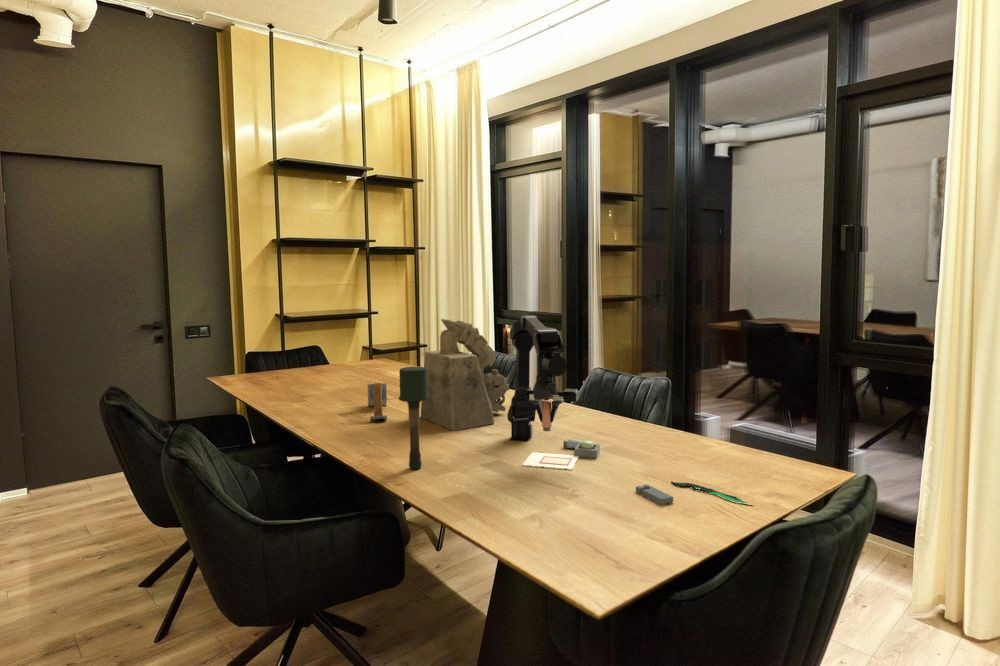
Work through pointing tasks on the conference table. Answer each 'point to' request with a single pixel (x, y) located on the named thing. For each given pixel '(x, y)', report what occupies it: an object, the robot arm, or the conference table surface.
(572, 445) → the grey cylinder
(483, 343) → the sculpture
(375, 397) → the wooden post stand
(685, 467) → the conference table surface
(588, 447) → the button
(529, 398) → the robot arm
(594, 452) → the button housing
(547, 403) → the salmon rounded cylinder
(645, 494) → the bracket
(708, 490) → the knife
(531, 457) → the sheet
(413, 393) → the stick grenade
